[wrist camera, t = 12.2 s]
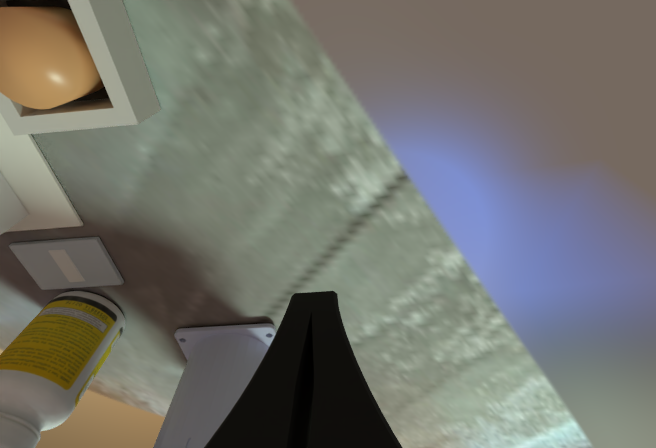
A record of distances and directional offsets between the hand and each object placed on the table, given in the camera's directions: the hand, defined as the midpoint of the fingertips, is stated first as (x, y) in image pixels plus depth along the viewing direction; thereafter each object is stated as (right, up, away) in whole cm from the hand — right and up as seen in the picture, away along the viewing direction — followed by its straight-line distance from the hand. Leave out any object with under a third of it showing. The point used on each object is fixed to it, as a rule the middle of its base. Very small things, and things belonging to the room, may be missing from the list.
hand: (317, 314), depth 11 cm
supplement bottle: (-18, -4, +15) cm, 24 cm away
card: (-17, 0, +12) cm, 21 cm away
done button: (-12, +11, +5) cm, 17 cm away
